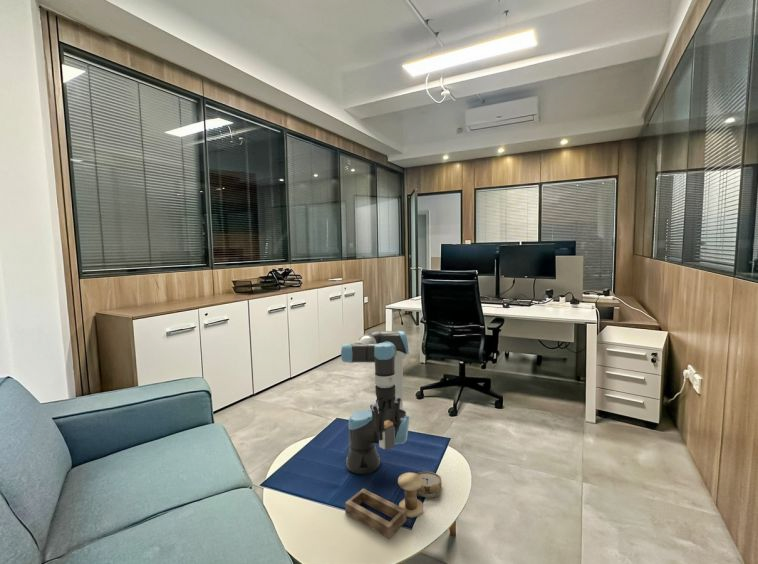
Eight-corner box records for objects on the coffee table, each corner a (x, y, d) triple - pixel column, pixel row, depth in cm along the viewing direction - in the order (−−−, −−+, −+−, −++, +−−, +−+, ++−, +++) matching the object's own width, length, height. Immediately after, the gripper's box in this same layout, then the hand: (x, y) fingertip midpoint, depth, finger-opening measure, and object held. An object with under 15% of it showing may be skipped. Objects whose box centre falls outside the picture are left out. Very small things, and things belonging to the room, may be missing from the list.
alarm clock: (441, 471, 149) (441, 488, 135) (441, 484, 149) (442, 502, 134) (413, 470, 151) (411, 486, 136) (414, 482, 151) (412, 500, 136)
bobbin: (394, 510, 132) (393, 481, 131) (407, 497, 139) (407, 469, 138) (414, 521, 126) (413, 491, 125) (428, 506, 133) (427, 478, 132)
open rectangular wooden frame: (345, 513, 131) (345, 502, 131) (363, 498, 139) (363, 488, 139) (389, 538, 119) (388, 527, 118) (406, 520, 126) (406, 509, 126)
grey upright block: (379, 446, 137) (379, 422, 136) (387, 442, 139) (387, 419, 139) (386, 450, 134) (385, 425, 133) (394, 446, 136) (394, 422, 136)
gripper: (373, 392, 127) (375, 457, 128) (408, 382, 138) (410, 441, 139) (361, 387, 133) (363, 449, 134) (395, 377, 144) (397, 434, 145)
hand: (387, 445), depth 137 cm, fingers closed on grey upright block, 4 cm apart
